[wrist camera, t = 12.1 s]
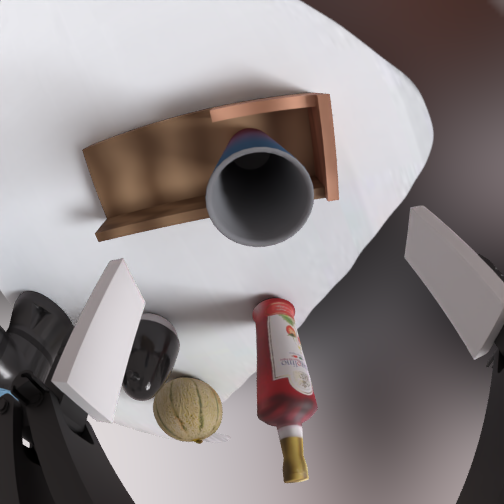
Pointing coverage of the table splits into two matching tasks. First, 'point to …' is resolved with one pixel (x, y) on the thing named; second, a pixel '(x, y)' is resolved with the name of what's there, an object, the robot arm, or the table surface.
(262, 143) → the cup
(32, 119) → the table surface
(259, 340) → the liquor
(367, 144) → the table surface
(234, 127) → the board
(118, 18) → the table surface
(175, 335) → the black egg-shaped device
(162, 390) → the cantaloupe
